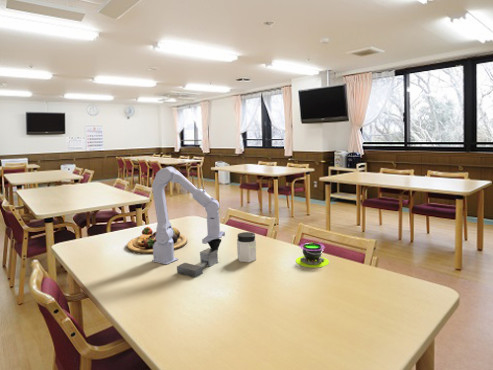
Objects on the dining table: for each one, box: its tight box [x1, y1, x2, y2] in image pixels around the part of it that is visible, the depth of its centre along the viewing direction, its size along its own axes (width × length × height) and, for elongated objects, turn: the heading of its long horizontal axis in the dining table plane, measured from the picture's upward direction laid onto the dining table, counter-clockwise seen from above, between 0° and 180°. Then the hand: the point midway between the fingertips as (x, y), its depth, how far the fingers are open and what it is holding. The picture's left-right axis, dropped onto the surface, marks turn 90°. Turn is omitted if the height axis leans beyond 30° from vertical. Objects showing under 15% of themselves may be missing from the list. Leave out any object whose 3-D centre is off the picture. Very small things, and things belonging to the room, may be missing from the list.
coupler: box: [176, 260, 208, 278], centre depth 151 cm, size 10×14×3 cm
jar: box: [236, 231, 257, 263], centre depth 162 cm, size 9×8×12 cm
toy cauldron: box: [295, 236, 330, 269], centre depth 157 cm, size 15×15×11 cm
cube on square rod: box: [199, 247, 219, 268], centre depth 157 cm, size 5×6×6 cm
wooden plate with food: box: [126, 226, 188, 255], centre depth 188 cm, size 32×32×8 cm
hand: (214, 254), depth 161 cm, fingers closed
